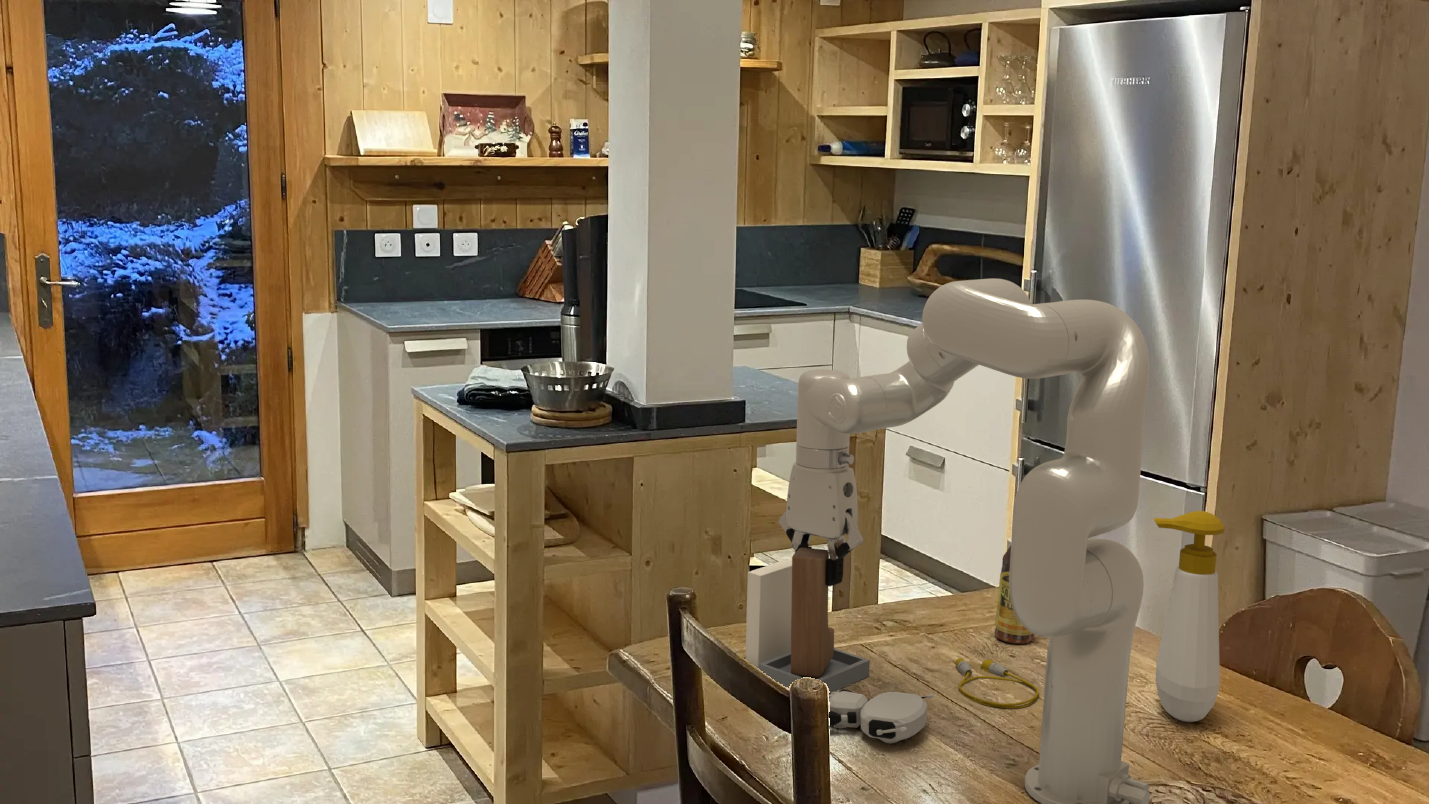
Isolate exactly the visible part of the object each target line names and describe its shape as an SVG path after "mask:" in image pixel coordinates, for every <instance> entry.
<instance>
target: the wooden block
mask: <svg viewBox="0 0 1429 804" xmlns="http://www.w3.org/2000/svg"><path fill="white" fill-rule="evenodd" d="M829 558H830V556H829V551H828V549H823V548H822V549H821V548H813V547H812V548H802V547H801V548H799V549H798V550H797V551H796V553H795V552H794V554H793V555H792V557H791V561H792V608H791V674H794V675H802V676H811V677H821V675H822V673H823V672H824V670H825V668H826V667H827V665H828V664H829V662H830V660H831V659H832V657H833V655H834V648H835V629H834V628H833V627H830V626H829V586H826V584H825V579H826V560H827V559H829Z"/></svg>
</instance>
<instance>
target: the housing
mask: <svg viewBox="0 0 1429 804" xmlns="http://www.w3.org/2000/svg"><path fill="white" fill-rule="evenodd" d="M746 586H747V590H746V591H747V593H746V596H747V597H746V622H745V623H746V625H745V626H746V629H745V630H746V632H745V657H746V660H747V661H749V662H750V663H751V664H753V665H754V666H756V667H757V668H759V669H760V670H761V671H763V673H766V675H768V676H770V677H771V678H772V679H774V680H775V681H776V682H779V683H780V684H783V686H785V687H788V688H789V686H790V684H792V682H794V681H795V680H797V679H801V678H803V677H811V676H802V675H794V674H791V608H792V559H791V560H790V559H783V560H781V561H778V562H774V563H772V564H768V565H766V566H763V567H760V568H756V569H753V570H751V571H750V570H749V571H748V572H747V585H746ZM870 663H871V659H869V658H865V657H863V656H862V657H861V656H859V655H856V654H853V653H850V652H846V651H843V650H841V649H838V648H835V647H834V655H833V657H832V659H831V660H830V662H829V664H828V665H827V667H826V668H825V670H824V672H823V673H822V675H821V677H811V678H815V679H819V680H821V681H822V682H824V683H826V684H827V686H828V688H829V691H830V694H831V693H832V692H835V691H837V690H842V689H844V688H846V687H848V686H850V685H852V683H853V684H854V682H855V683H857V682H859V681H862V680H864V679H866V678H868V677H870V665H871V664H870ZM861 679H862V680H861ZM849 684H850V685H849ZM847 685H848V686H847ZM845 686H846V687H845ZM843 687H844V688H843Z"/></svg>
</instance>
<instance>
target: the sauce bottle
mask: <svg viewBox="0 0 1429 804" xmlns="http://www.w3.org/2000/svg"><path fill="white" fill-rule="evenodd" d="M1010 556H1011V545H1010V546H1009V547H1008V548H1007V550H1006V551H1005V553H1004V554H1003V556H1002V564H1001V565H1002V566H1001V569H1000V570H1001V571H1000V573H999V583H998V593H997V594H998V595H997V602H996V612H995V621H994V626H995V629H994V636H995V637H996V638H997V639H998V640H1000V641H1003V642H1005V643H1009V644H1012V645H1013V644H1021V645H1022V644H1023V645H1025V644H1028V643H1030V642H1031V641H1032V640H1033V639H1034V634H1033V633H1031V632H1030V631H1028V630H1027V629H1026V628H1025V627H1024V626H1023V625H1022V624H1021V623H1020V621H1019V620H1018V618H1017V616H1016V614H1015V612H1014V610H1013V607H1012V604H1011V599H1010V591H1009V574H1010Z"/></svg>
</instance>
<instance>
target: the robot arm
mask: <svg viewBox="0 0 1429 804" xmlns="http://www.w3.org/2000/svg"><path fill="white" fill-rule="evenodd" d="M1031 303H1032V302H1031V300H1030V298H1029V296H1028V294H1027V293H1026V292H1025V290H1024V289H1022V287H1021V286H1019V285H1017V284H1016V283H1014V282H1012V281H1010V280H1007V279H1004V278H1003V279H1002V278H981V279H980V278H979V279H968V280H967V279H966V280H965V279H964V280H956V281H951V282H950V281H949V282H948V283H945V284H943V285H941V286H939V287H938V288H936V290H934V291H933V292H932V293H931V294H930V296H929V297H928V299H927V301H926V302H925V304H924V307H923V310H922V314H921V315H922V318H921V319H922V323H921V324H919V325H918V326H917V327H915V328H914V329H913V330H912V331H911V332H910V333H909V335H908V337H907V339H906V353H907V357H908V360H909V361H907V362H906V363H904V364H903V365H901V366H900V367H898V368H897V369H895V370H893V371H890V372H889V373H878V374H873V375H867V376H865V375H864V376H859V377H853V378H851V377H850V376H849V375H848V374H847V373H846V372H844V371H841V370H834V369H812V370H807V371H806V370H805V371H804V372H803V373H801V375H800V376H799V377H798V378H799V379H798V383H797V384H798V385H797V411H796V412H797V414H796V446H795V447H796V448H795V449H796V451H795V452H796V454H795V462H794V463H793V464H792V467H791V471H790V474H789V475H790V476H789V480H788V488H787V495H786V496H787V498H786V509H785V511H784V512H783V514H782V515H781V516H780V518H779V519H778V523H779V525H780V527H781V528H782V530H784V532H785V533H786V534H785V535H786V537H787V538H788V539H789V541H790V543H791V544H790V545H791V548H792V549H793V550H794V554H795V553H796V551H797V550H798V549H799V548H801V547H802V548H813V546H809V545H810V543H811V539H812V536H815V537H817V538H818V537H819V538H822V539H826V545H827V550H828V552H829V559H827V560H826V579H825V584H826V586H828V587H833V586H835V585H838V584H841V583H842V582H843V577H844V562H845V559H844V558H846V557H848V556H849V555H848V554H849V553H851V552H852V551H853V550H854V548H856V547H858V546H859V545H860V544H863V542H864V538H863V536H862V534H861V532H860V530H859V527H858V523H859V507H858V506H859V505H858V503H859V502H858V491H857V483H856V477H855V472H854V468H852V467H849V466H850V465H853V463H854V462H855V456H854V455H853V454H850V442H851V441H850V437H851V435H855V434H861V433H867V432H871V431H877V430H883V429H888V428H895V427H900V426H903V425H905V424H908V423H910V422H912V421H914V420H916V419H917V418H919V417H921V416H922V415H924V414H925V413H926V412H928V411H930V410H931V409H933V408H934V407H936V406H937V405H939V404H940V403H941V402H942V401H944V400H945V399H946V398H947V396H948V395H949V394H950V392H951V390H952V389H953V386H954V385H955V381H958V380H959V379H960V378H962V377H963V376H965V375H966V374H968V373H969V372H971V371H972V370H974V369H976V368H977V367H978V366H982V367H985V368H988V369H990V370H994V371H997V372H1000V373H1003V374H1006V375H1008V376H1012V377H1016V378H1020V379H1021V378H1022V379H1029V380H1030V379H1031V380H1032V379H1033V380H1034V379H1044V378H1050V377H1057V376H1063V375H1064V376H1065V375H1068V374H1073V373H1076V374H1078V375H1079V376H1080V381H1079V384H1078V386H1077V389H1076V391H1075V393H1074V395H1073V398H1072V399H1071V400H1072V401H1071V403H1070V405H1069V409H1068V413H1067V421H1066V422H1067V423H1066V424H1067V425H1066V440H1065V447H1064V452H1063V455H1062V457H1061V458H1058V459H1054V460H1049V461H1046V462H1043V463H1040V464H1039V465H1036V466H1035V467H1033V468H1032V469H1031V470H1030V471H1029V472H1028V473H1027V474H1025V476H1024V477H1023V479H1022V480H1021V483H1020V484H1019V486H1018V488H1017V492H1016V495H1015V497H1014V498H1015V499H1014V503H1013V508H1012V509H1013V511H1012V512H1013V513H1012V523H1011V524H1012V525H1011V526H1012V527H1011V539H1010V540H1011V541H1010V542H1011V544H1010V546H1011V556H1010V574H1009V591H1010V599H1011V604H1012V607H1013V610H1014V612H1015V614H1016V616H1017V618H1018V620H1019V621H1020V623H1021V624H1022V625H1023V626H1024V627H1025V628H1026V629H1027V630H1028V631H1030V632H1031V633H1033V635H1036V636H1038V637H1042V638H1049V640H1048V645H1047V653H1046V663H1045V675H1044V676H1045V677H1044V689H1043V705H1042V718H1041V731H1040V734H1041V735H1040V745H1039V746H1040V747H1039V759H1038V760H1039V762H1038V764H1036V765H1034V766H1032V767H1031V768H1029V769H1028V771H1027V772H1026V773H1025V777H1024V788H1025V790H1026V792H1027V793H1028V795H1029V796H1030V797H1031V798H1033V799H1034V800H1035V801H1036V802H1039V803H1040V804H1129V802H1130V804H1149V803H1150V801H1151V792H1150V791H1149V789H1150V784H1149V783H1148V782H1144V781H1141V780H1139V779H1135V778H1132V776H1131V775H1129V772H1130V763H1128V762H1126V761H1123V760H1122V755H1123V744H1124V743H1123V742H1124V731H1125V721H1126V720H1125V719H1126V709H1127V708H1126V706H1127V695H1128V693H1127V692H1128V682H1129V672H1130V662H1131V653H1132V646H1133V639H1134V638H1133V637H1134V633H1135V629H1136V624H1137V620H1138V616H1139V613H1140V608H1141V605H1142V601H1143V595H1144V585H1145V584H1144V583H1145V582H1144V575H1143V571H1142V566H1141V564H1140V562H1139V561H1138V558H1137V557H1136V556H1135V554H1134V553H1133V552H1132V551H1131V550H1130V549H1129V548H1127V547H1126V546H1125V545H1124V544H1121V543H1120V542H1117V541H1114V540H1112V539H1106V538H1105V539H1104V538H1095V539H1094V538H1093V537H1096V536H1100V535H1103V534H1106V533H1107V534H1108V533H1110V532H1112V531H1115V530H1118V529H1120V528H1122V527H1124V526H1125V525H1128V523H1129V522H1130V521H1131V520H1132V519H1133V518H1134V516H1135V514H1136V512H1137V508H1138V504H1139V494H1140V484H1141V483H1140V481H1141V468H1142V458H1143V457H1142V456H1143V441H1144V422H1145V421H1144V419H1145V411H1146V410H1145V409H1146V405H1147V397H1148V391H1149V390H1148V389H1149V381H1150V370H1151V368H1150V366H1151V362H1150V354H1149V348H1148V344H1147V342H1146V339H1145V335H1143V332H1142V331H1141V329H1140V327H1139V326H1138V325H1137V323H1136V322H1135V321H1134V320H1133V318H1132V317H1131V316H1130V315H1128V314H1127V313H1126V312H1124V311H1123V310H1122V309H1121V308H1119V307H1117V306H1116V305H1112V304H1111V303H1108V302H1106V301H1102V300H1101V301H1100V300H1094V299H1069V300H1060V301H1054V302H1042V303H1034V304H1031ZM845 535H847V536H848V539H847V540H846V536H845ZM1090 538H1091V539H1090ZM1092 538H1093V539H1092Z"/></svg>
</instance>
